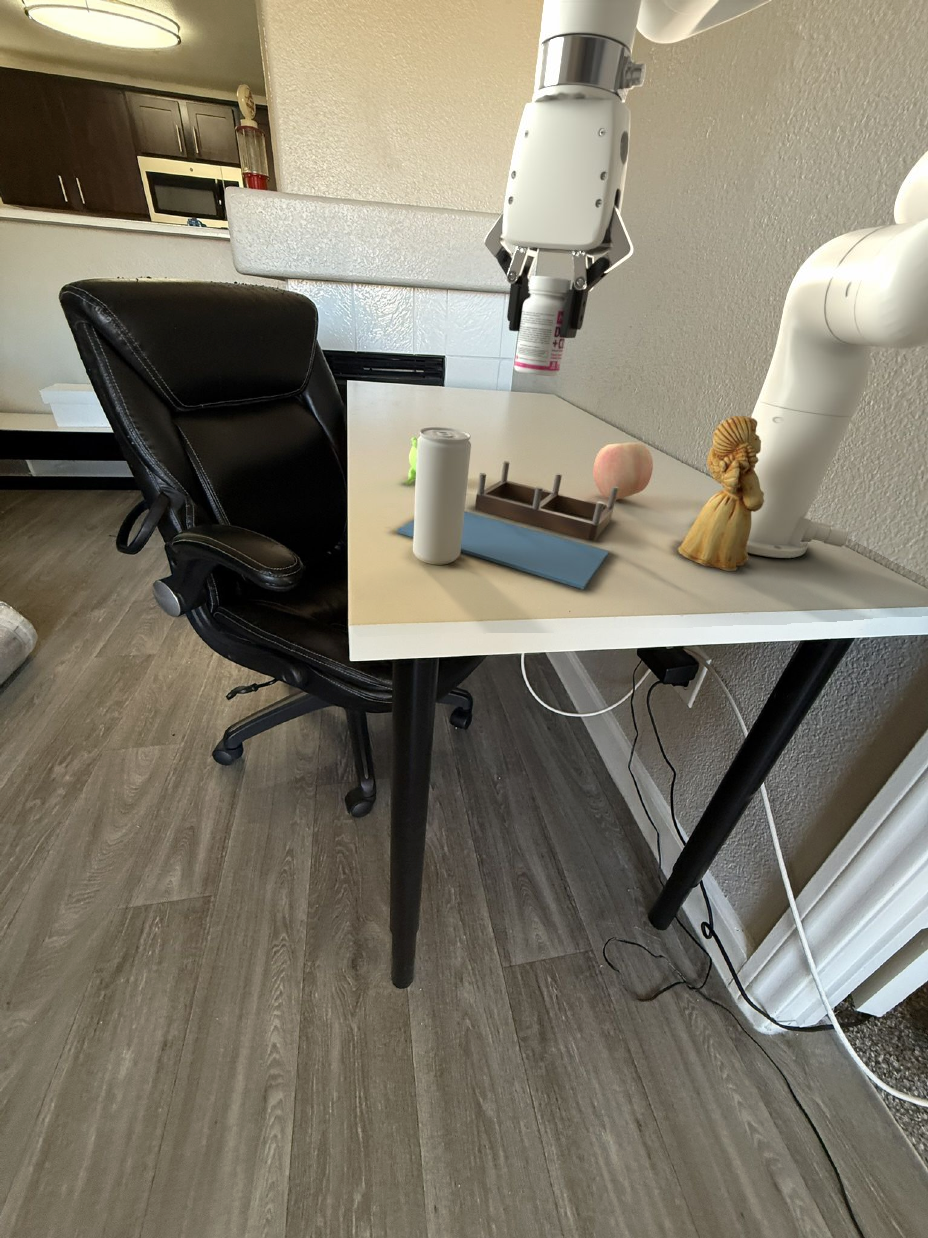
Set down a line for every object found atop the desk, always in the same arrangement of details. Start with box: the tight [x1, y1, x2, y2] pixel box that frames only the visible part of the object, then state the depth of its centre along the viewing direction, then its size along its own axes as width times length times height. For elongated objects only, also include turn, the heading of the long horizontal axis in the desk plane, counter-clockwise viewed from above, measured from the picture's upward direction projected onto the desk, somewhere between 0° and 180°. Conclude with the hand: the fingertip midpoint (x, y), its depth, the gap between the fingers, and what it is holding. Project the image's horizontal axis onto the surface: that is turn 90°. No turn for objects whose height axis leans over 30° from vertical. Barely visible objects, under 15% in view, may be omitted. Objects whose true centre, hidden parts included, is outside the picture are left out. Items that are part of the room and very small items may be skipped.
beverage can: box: [412, 426, 472, 566], centre depth 49 cm, size 5×5×12 cm
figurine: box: [677, 415, 764, 572], centre depth 55 cm, size 8×8×15 cm
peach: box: [592, 442, 654, 501], centre depth 72 cm, size 8×8×8 cm
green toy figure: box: [405, 436, 418, 486], centre depth 72 cm, size 6×5×6 cm
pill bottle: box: [513, 275, 572, 377], centre depth 52 cm, size 5×5×8 cm
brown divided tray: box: [474, 460, 619, 542], centre depth 64 cm, size 15×8×4 cm, turn 63°
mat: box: [397, 510, 610, 590], centre depth 57 cm, size 21×10×1 cm, turn 63°
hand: (542, 331), depth 53 cm, fingers closed on pill bottle, 4 cm apart
